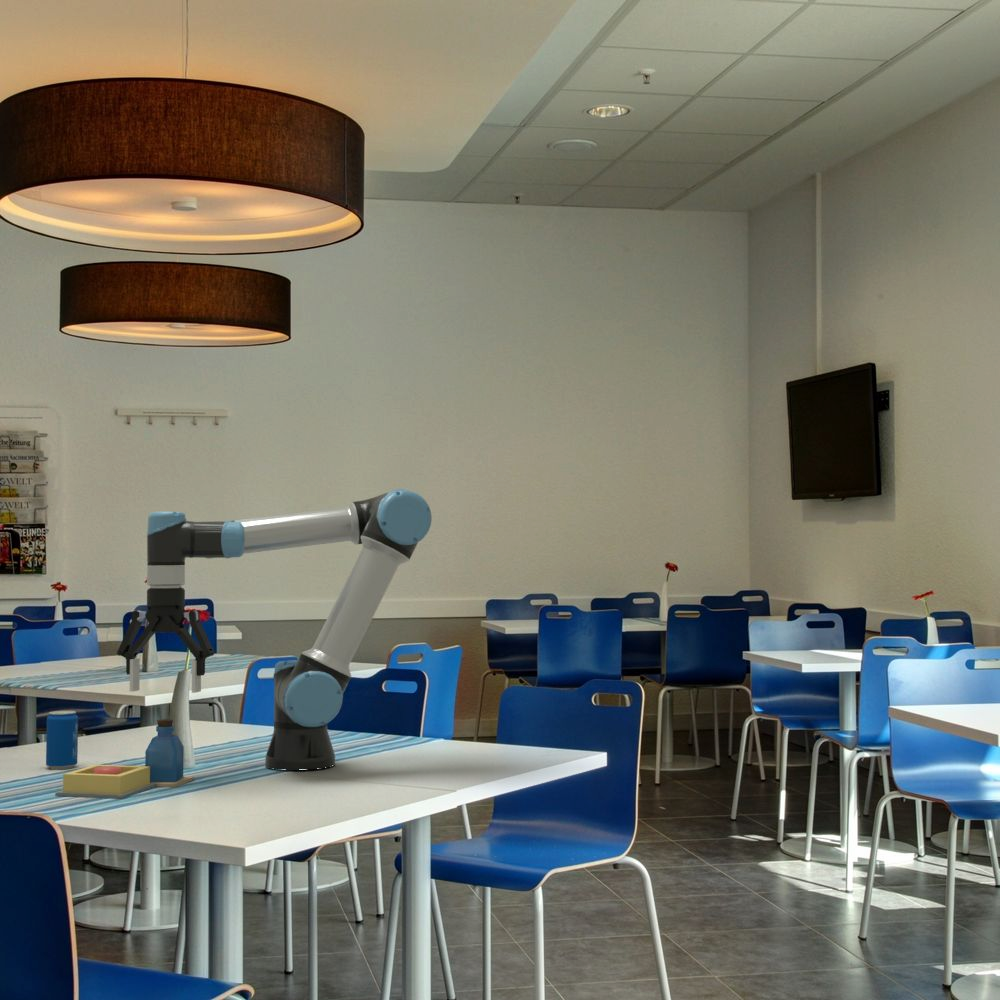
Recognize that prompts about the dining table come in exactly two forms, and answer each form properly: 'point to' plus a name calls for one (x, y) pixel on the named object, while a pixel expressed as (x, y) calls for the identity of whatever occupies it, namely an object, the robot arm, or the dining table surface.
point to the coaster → (174, 784)
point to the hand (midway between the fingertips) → (165, 691)
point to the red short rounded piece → (108, 770)
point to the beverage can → (62, 740)
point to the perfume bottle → (165, 754)
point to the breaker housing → (106, 782)
